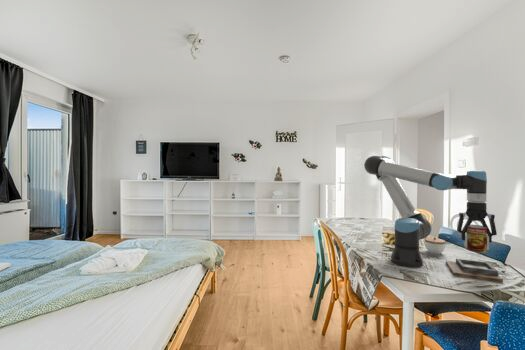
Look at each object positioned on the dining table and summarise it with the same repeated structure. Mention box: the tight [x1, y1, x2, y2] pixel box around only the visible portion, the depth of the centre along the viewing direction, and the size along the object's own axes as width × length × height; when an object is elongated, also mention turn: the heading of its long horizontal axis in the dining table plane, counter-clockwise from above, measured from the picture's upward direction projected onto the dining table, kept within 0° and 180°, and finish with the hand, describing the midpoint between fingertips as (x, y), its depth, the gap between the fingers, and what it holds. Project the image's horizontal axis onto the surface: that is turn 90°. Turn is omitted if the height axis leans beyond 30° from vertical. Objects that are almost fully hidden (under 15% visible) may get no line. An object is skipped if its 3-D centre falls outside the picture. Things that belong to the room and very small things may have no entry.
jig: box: [445, 258, 504, 283], centre depth 128 cm, size 18×18×4 cm
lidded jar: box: [424, 236, 446, 255], centre depth 159 cm, size 11×11×9 cm
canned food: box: [465, 224, 488, 254], centre depth 129 cm, size 8×8×12 cm
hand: (476, 247), depth 129 cm, fingers closed on canned food, 8 cm apart
